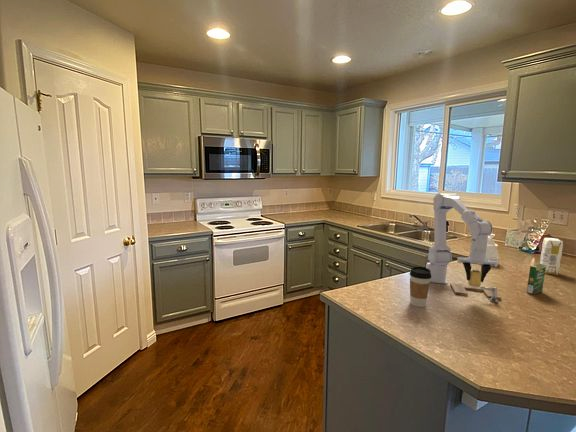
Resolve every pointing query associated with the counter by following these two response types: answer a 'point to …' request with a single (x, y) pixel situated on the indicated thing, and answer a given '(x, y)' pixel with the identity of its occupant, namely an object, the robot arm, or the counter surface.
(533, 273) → the coffee box
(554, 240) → the juice carton
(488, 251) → the honey pot
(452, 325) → the counter surface
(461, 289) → the brown u-shaped board
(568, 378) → the counter surface
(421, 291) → the coffee cup
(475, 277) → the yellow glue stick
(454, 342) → the counter surface
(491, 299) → the hook arm
